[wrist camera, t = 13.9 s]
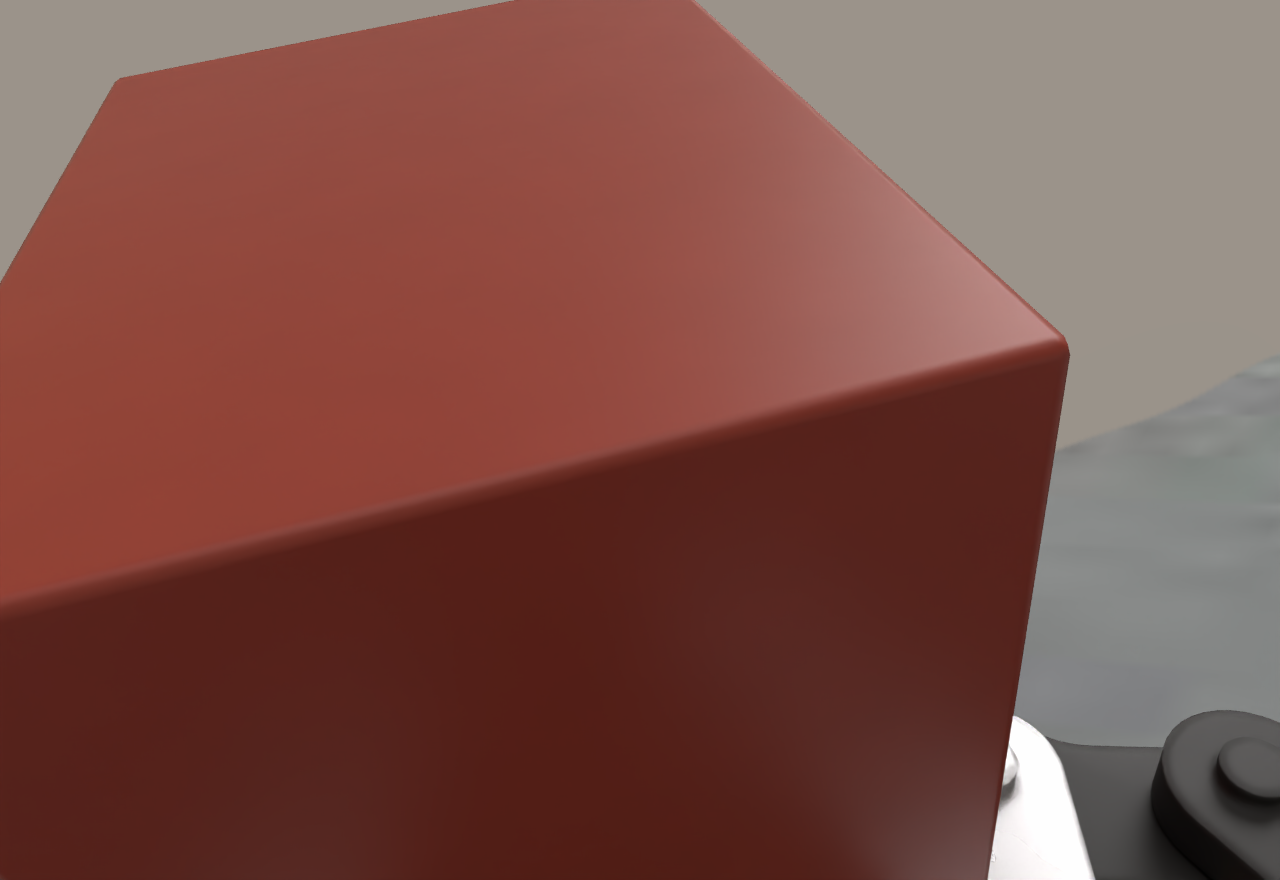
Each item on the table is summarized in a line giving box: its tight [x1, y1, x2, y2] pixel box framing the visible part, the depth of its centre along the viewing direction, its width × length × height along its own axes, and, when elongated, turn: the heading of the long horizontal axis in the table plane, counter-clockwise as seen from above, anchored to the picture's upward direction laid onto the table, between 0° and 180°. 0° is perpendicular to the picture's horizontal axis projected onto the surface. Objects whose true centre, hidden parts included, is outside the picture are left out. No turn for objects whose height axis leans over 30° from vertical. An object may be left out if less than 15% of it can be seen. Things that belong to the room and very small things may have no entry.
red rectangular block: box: [0, 0, 1070, 880], centre depth 10 cm, size 4×6×15 cm
